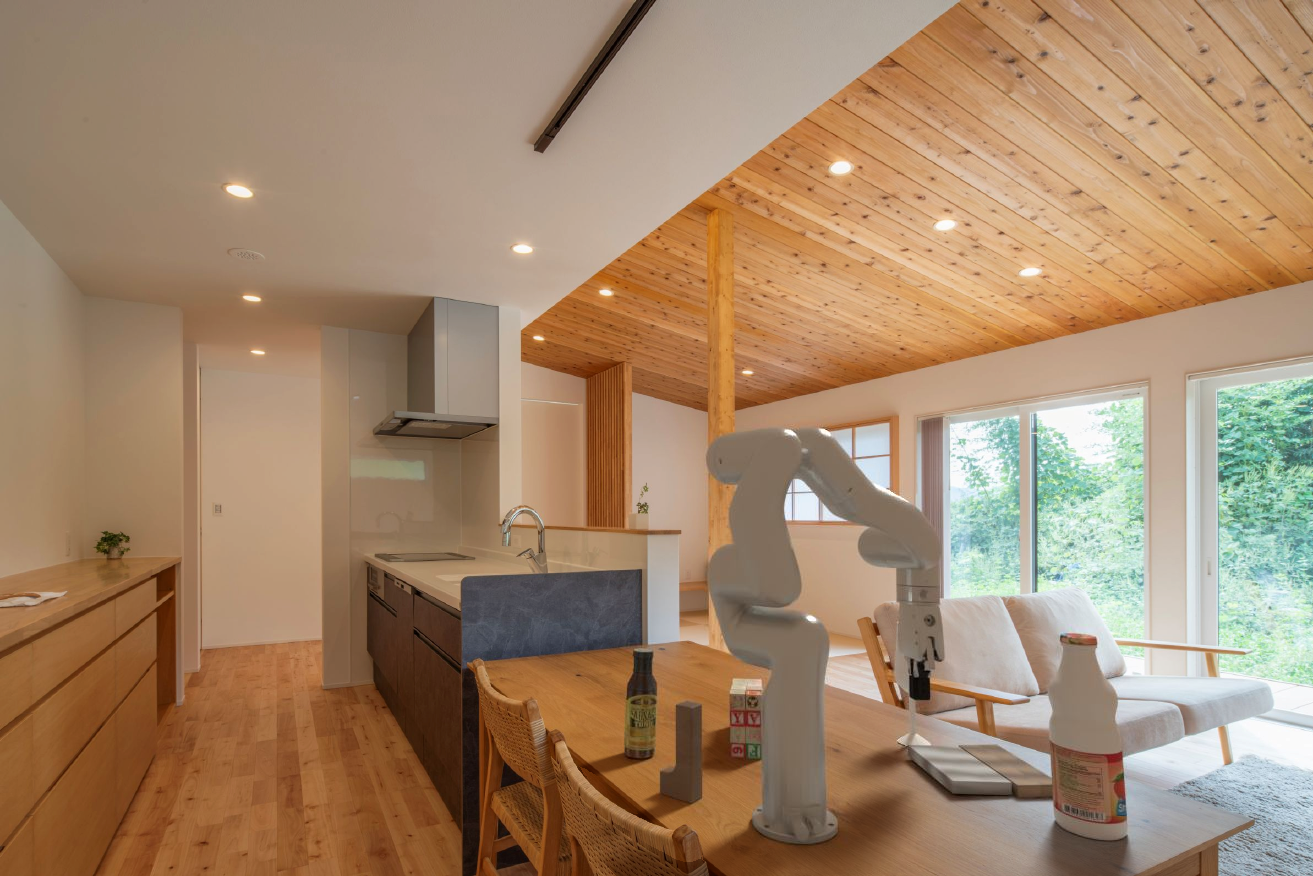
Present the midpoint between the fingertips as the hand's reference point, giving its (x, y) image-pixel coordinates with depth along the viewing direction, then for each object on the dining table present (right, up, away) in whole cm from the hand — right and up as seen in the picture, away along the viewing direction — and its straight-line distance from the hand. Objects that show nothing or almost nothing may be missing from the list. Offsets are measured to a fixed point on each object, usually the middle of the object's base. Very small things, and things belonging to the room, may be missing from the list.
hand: (919, 698), depth 125 cm
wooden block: (-44, -13, -10) cm, 46 cm away
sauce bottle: (-51, -15, +9) cm, 54 cm away
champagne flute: (+5, -15, +17) cm, 23 cm away
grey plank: (+6, -13, -1) cm, 14 cm away
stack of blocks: (-29, -16, +18) cm, 37 cm away
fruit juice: (+17, -11, -22) cm, 30 cm away
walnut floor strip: (+15, -13, -1) cm, 20 cm away
